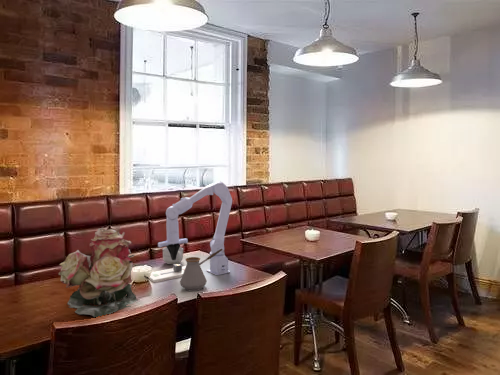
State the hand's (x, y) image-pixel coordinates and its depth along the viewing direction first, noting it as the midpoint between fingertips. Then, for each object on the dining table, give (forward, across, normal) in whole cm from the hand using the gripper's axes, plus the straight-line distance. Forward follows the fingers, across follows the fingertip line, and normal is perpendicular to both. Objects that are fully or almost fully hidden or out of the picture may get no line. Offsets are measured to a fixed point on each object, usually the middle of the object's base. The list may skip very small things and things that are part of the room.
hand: (173, 259), depth 197 cm
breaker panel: (+7, +2, 0) cm, 7 cm away
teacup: (+7, -8, -17) cm, 20 cm away
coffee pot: (+7, -3, +23) cm, 24 cm away
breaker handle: (+6, -2, 0) cm, 6 cm away
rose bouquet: (+7, +38, +19) cm, 44 cm away
